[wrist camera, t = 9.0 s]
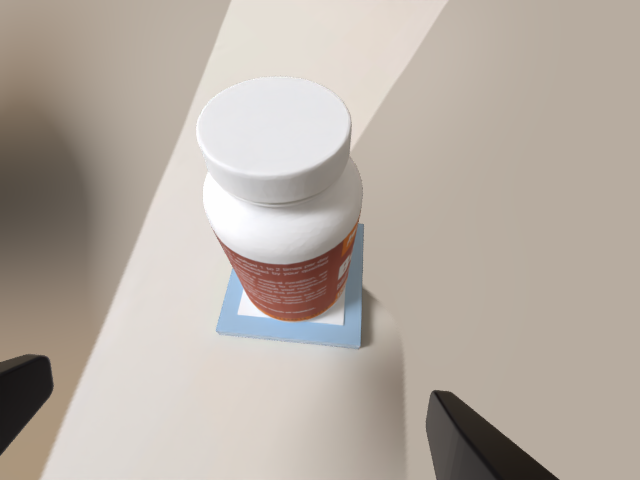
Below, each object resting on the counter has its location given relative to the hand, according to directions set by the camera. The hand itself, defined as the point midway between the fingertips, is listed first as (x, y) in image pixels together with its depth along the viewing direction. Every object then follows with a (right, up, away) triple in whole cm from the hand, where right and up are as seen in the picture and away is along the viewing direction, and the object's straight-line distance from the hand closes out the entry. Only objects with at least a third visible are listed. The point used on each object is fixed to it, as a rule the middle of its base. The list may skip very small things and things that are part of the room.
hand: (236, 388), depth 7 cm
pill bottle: (+1, +1, +12) cm, 12 cm away
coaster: (+1, +1, +12) cm, 12 cm away
